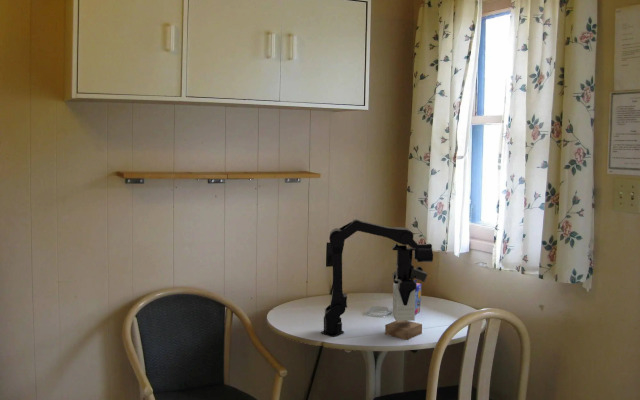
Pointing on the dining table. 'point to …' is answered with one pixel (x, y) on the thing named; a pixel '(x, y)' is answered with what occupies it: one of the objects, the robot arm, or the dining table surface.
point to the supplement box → (403, 306)
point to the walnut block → (403, 329)
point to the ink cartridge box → (417, 298)
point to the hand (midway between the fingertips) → (403, 302)
